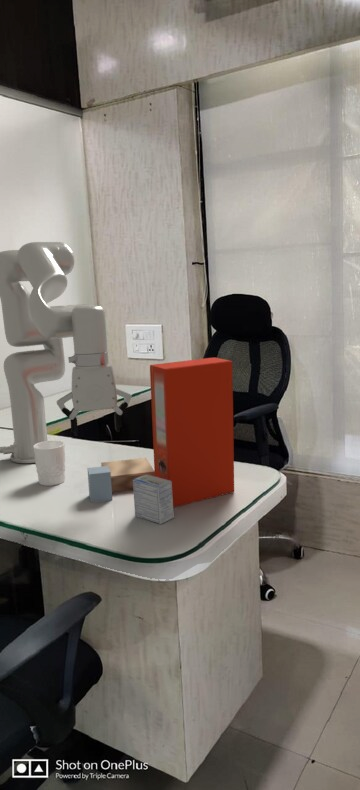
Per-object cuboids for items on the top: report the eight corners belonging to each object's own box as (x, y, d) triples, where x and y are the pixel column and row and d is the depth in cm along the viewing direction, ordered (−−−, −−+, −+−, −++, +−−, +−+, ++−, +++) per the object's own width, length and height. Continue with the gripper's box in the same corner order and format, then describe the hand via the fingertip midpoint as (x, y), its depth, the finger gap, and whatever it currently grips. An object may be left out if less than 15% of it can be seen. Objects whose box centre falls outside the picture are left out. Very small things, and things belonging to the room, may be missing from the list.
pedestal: (107, 492, 150) (106, 476, 149) (102, 477, 161) (101, 462, 161) (155, 486, 153) (154, 471, 152) (146, 472, 164) (146, 457, 163)
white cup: (33, 480, 161) (30, 443, 159) (62, 474, 165) (59, 439, 163) (41, 488, 154) (37, 450, 152) (71, 483, 158) (68, 445, 156)
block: (91, 502, 144) (89, 474, 142) (89, 495, 148) (87, 468, 147) (112, 500, 145) (110, 472, 143) (109, 493, 150) (108, 465, 148)
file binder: (235, 492, 146) (232, 360, 140) (171, 508, 138) (165, 368, 132) (217, 483, 153) (213, 357, 147) (155, 497, 145) (149, 364, 139)
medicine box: (174, 518, 133) (172, 480, 131) (160, 525, 129) (158, 486, 128) (148, 510, 138) (146, 473, 136) (134, 516, 135) (132, 479, 133)
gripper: (53, 365, 134) (60, 440, 138) (131, 359, 138) (136, 432, 141) (52, 361, 142) (58, 432, 145) (126, 355, 145) (131, 425, 149)
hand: (97, 432), depth 143 cm, fingers open, 9 cm apart
